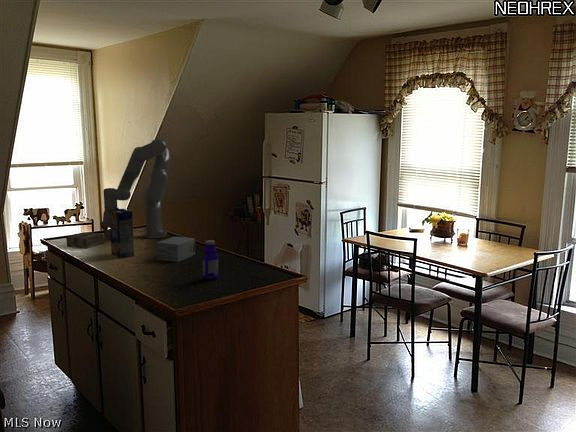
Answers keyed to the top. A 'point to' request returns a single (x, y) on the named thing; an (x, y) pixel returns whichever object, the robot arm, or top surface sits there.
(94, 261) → the top surface
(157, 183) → the robot arm
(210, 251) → the bottle
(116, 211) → the juice carton
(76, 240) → the grey flat block
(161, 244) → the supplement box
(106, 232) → the terracotta cube
